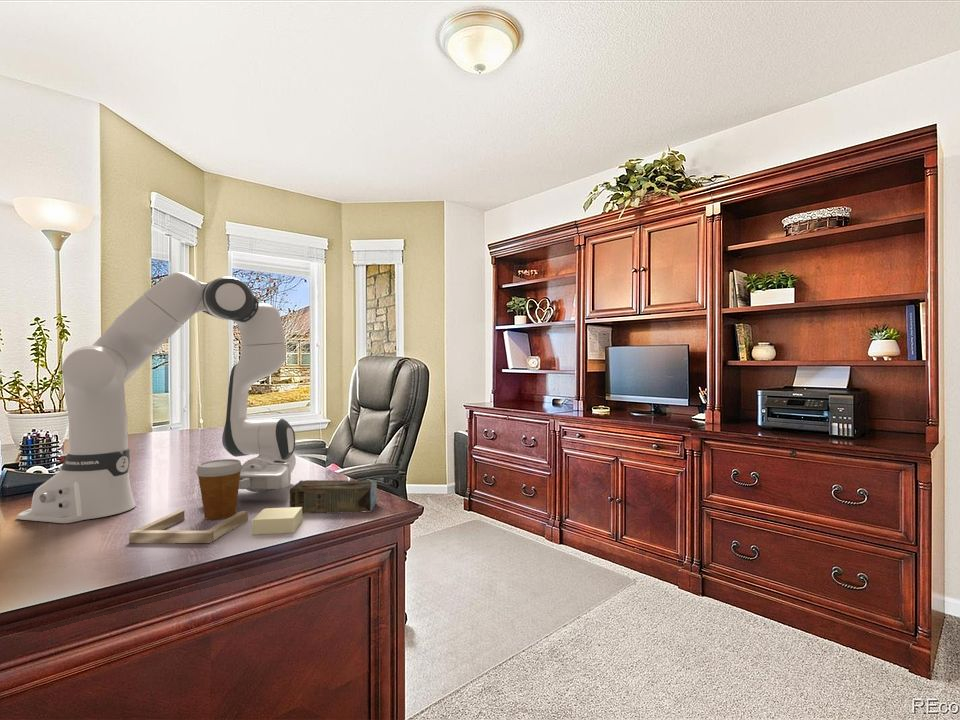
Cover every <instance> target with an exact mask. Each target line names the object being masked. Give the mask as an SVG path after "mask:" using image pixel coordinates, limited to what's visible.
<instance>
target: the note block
mask: <svg viewBox="0 0 960 720" xmlns="http://www.w3.org/2000/svg"><path fill="white" fill-rule="evenodd" d="M302 522H303V513H302V507H290V506H289V507H271V508H269V507H267V508H263V509H262V510H261V511H260V512H259V513H258V514H257V515H256V516H255V517H254V518H253V519H252V522H251V523H252V525H251V526H252V528H251V529H252V530H251V531H252V532H251V533H252V535H253V536H254V535H273V534H274V535H275V534H292V533H293V534H294V533H295V531H296V530H297V528H298V527H299V525H300V524H301V523H302Z"/></svg>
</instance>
